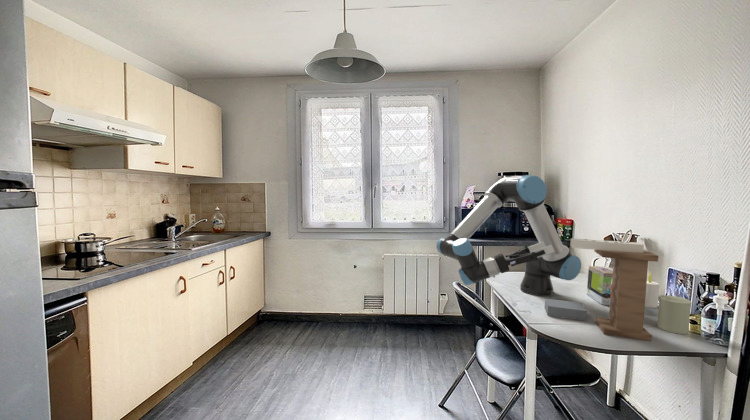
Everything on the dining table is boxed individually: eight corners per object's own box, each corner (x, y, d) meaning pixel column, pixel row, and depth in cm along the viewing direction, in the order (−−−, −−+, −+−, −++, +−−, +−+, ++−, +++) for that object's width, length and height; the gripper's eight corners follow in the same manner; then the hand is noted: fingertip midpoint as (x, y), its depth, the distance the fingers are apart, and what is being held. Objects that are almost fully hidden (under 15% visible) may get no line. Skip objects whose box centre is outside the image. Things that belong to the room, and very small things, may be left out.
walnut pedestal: (589, 321, 134) (594, 246, 132) (638, 327, 129) (644, 249, 127) (597, 333, 123) (603, 251, 121) (651, 341, 118) (658, 255, 115)
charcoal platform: (544, 307, 149) (544, 298, 149) (581, 312, 144) (581, 302, 144) (547, 315, 140) (547, 306, 139) (586, 320, 135) (587, 311, 134)
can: (650, 323, 133) (652, 293, 132) (672, 323, 133) (674, 293, 133) (672, 334, 124) (675, 302, 123) (696, 334, 124) (699, 302, 123)
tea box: (625, 306, 152) (628, 274, 151) (601, 305, 153) (603, 272, 152) (608, 295, 167) (610, 266, 165) (585, 294, 168) (587, 265, 167)
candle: (659, 305, 154) (662, 273, 152) (655, 308, 150) (658, 275, 148) (642, 301, 159) (644, 270, 157) (637, 304, 154) (640, 272, 153)
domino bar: (570, 246, 132) (570, 238, 131) (638, 250, 124) (639, 242, 124) (572, 248, 128) (573, 239, 127) (643, 253, 120) (644, 244, 120)
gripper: (497, 268, 152) (545, 250, 147) (503, 280, 128) (561, 259, 123) (490, 252, 152) (538, 234, 147) (495, 261, 128) (552, 240, 123)
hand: (548, 246), depth 135 cm, fingers open, 13 cm apart
